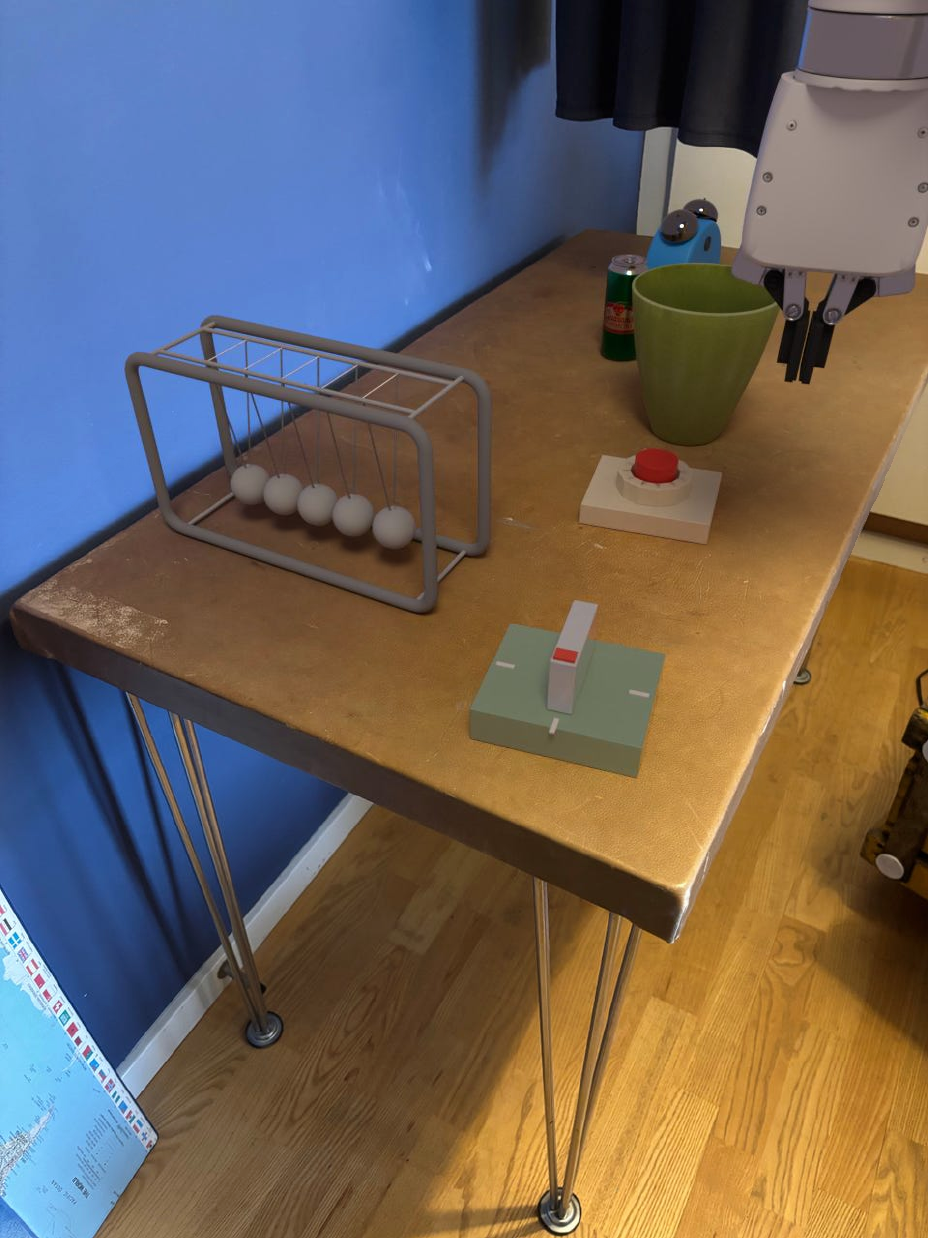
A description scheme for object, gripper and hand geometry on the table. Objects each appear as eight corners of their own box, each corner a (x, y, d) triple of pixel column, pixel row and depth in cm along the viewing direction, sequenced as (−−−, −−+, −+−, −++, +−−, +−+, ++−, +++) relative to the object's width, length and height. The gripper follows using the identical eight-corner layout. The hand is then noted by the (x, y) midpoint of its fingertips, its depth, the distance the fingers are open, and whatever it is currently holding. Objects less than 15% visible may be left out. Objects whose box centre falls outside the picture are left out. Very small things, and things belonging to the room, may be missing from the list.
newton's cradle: (492, 558, 82) (494, 371, 71) (434, 622, 75) (426, 426, 64) (233, 480, 94) (200, 309, 83) (162, 529, 87) (115, 349, 76)
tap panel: (662, 678, 70) (667, 646, 68) (635, 785, 61) (640, 752, 59) (511, 647, 73) (512, 616, 71) (467, 744, 64) (466, 712, 63)
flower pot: (757, 470, 94) (790, 317, 84) (612, 457, 97) (628, 308, 87) (751, 407, 106) (779, 266, 96) (622, 397, 108) (636, 259, 98)
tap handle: (570, 646, 68) (574, 596, 65) (593, 651, 68) (599, 601, 65) (546, 709, 63) (549, 657, 60) (571, 715, 62) (576, 663, 59)
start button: (679, 467, 88) (681, 451, 87) (672, 488, 85) (675, 471, 84) (637, 461, 89) (639, 445, 88) (630, 481, 86) (632, 465, 85)
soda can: (594, 358, 117) (602, 262, 110) (608, 344, 121) (617, 250, 113) (632, 365, 115) (642, 268, 108) (645, 351, 119) (656, 256, 111)
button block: (718, 491, 91) (725, 455, 89) (706, 545, 84) (713, 507, 81) (600, 473, 94) (603, 438, 92) (578, 523, 87) (581, 486, 84)
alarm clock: (674, 300, 133) (689, 190, 124) (714, 308, 131) (732, 196, 121) (635, 328, 125) (648, 212, 116) (677, 337, 122) (694, 220, 113)
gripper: (1018, 44, 49) (916, 366, 61) (736, 36, 53) (690, 341, 65) (1038, 64, 44) (922, 414, 55) (722, 54, 48) (675, 383, 59)
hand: (797, 374), depth 60 cm, fingers closed
